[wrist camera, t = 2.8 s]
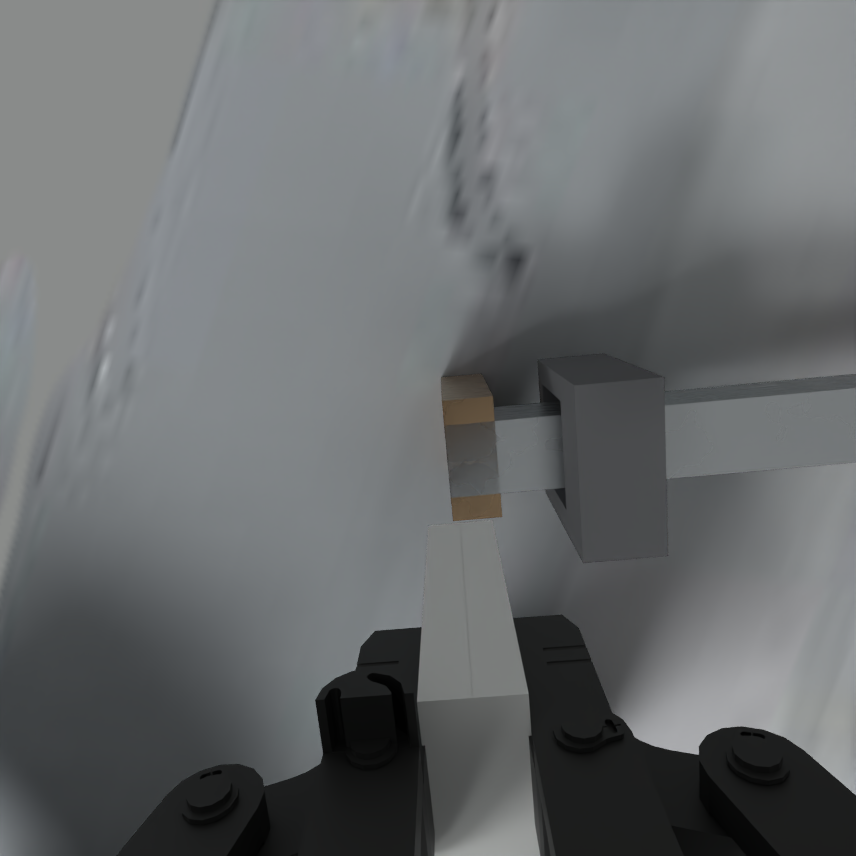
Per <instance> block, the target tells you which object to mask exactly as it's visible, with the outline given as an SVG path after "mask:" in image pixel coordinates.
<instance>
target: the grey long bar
mask: <svg viewBox="0 0 856 856" xmlns="http://www.w3.org/2000/svg"><path fill="white" fill-rule="evenodd" d="M441 388H442V406H443V417H444V428H445V438H446V449H447V460H448V471H449V481H450V492H451V503H452V514H453V521H460V520H471V519H483V518H495V517H502V509H501V496H500V493H512V492H523V491H534V490H546V489H557V488H565V474H564V456H563V438H562V420H561V401H555V402H544V403H534V404H523V405H512V406H501V407H494V405H493V396H492V394H491V392H490V390H489V388H488V386H487V384H486V382H485V380H484V378H483V376H482V374H471V375H461V376H450V377H441ZM665 436H666V479H672V478H683V477H694V476H706V475H717V474H729V473H740V472H752V471H763V470H774V469H786V468H797V467H809V466H820V465H832V464H843V463H854V462H856V374H849V375H838V376H827V377H816V378H805V379H794V380H784V381H773V382H762V383H751V384H740V385H729V386H718V387H707V388H697V389H686V390H675V391H665Z"/></svg>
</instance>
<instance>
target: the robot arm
mask: <svg viewBox="0 0 856 856" xmlns="http://www.w3.org/2000/svg"><path fill="white" fill-rule="evenodd" d="M315 701H316V708H317V715H318V721H319V728H320V735H321V741H322V748H323V757H322V761H321V763H320V764H319V765H318V766H316V767H314V768H313V769H311V770H309V771H308V772H306V773H303V774H301V775H298V776H296V777H293V778H291V779H288V780H284V781H281V782H278V783H275V784H272V785H269V786H265V787H264V785H263V779H262V777H261V776H260V775H259V774H258V773H257V772H256V771H255V770H254V769H253V768H249V767H246V766H243V765H240V764H229V765H218V766H215V767H212V768H208V769H205V770H202V771H199V772H198V773H196V774H194V775H192V776H191V777H189V778H187V779H185V780H183V781H182V782H181V783H180V784H179V785H177V786H176V787H175V788H174V789H173V790H172V791H171V792H170V793H169V794H168V795H167V796H166V797H165V798H164V799H163V800H162V802H161V803H160V804H159V805H158V806H157V808H156V809H155V810H154V811H153V812H152V814H151V815H150V816H149V817H148V818H147V820H146V821H145V822H144V823H143V824H142V826H141V827H140V828H139V829H138V830H137V832H136V833H135V834H134V835H133V836H132V838H131V839H130V840H129V841H128V842H127V844H126V845H125V846H124V847H123V848H122V850H121V851H120V852H119V853H118V854H117V856H856V795H855V794H854V793H852V792H851V791H850V790H849V789H848V788H847V787H845V786H844V785H843V784H842V783H841V782H840V781H839V780H837V779H836V778H835V777H834V776H833V775H832V774H830V773H829V772H828V771H827V770H826V769H825V768H824V767H822V766H821V765H820V764H819V763H818V762H817V761H815V760H814V759H813V758H812V757H811V756H810V755H809V754H807V753H806V752H805V751H804V750H803V749H801V748H799V747H798V746H796V745H795V744H793V743H792V742H790V741H789V740H787V739H786V738H784V737H781V736H779V735H776V734H773V733H771V732H768V731H765V730H762V729H755V728H748V727H731V728H722V729H719V730H717V731H715V732H713V733H711V734H708V735H707V736H706V737H705V739H704V740H703V741H702V743H701V744H700V746H699V755H696V754H690V753H684V752H678V751H671V750H667V749H663V748H659V747H654V746H652V745H649V744H647V743H645V742H642V741H640V740H638V739H636V738H635V737H634V736H633V733H632V731H631V730H630V728H629V727H628V726H627V724H626V723H625V722H624V720H623V719H621V718H620V717H618V716H617V715H615V714H613V713H612V711H611V709H610V706H609V704H608V701H607V699H606V696H605V694H604V691H603V689H602V686H601V684H600V681H599V678H598V676H597V673H596V671H595V668H594V666H593V663H592V662H591V658H590V656H589V653H588V651H587V648H586V647H585V643H584V640H583V638H582V635H581V633H580V630H579V628H578V627H577V626H575V625H574V624H573V623H572V622H570V621H569V620H568V619H567V618H565V617H564V616H563V615H551V616H538V617H525V618H513V616H512V612H511V607H510V602H509V597H508V592H507V588H506V583H505V578H504V573H503V568H502V564H501V559H500V554H499V549H498V544H497V540H496V535H495V530H494V525H493V520H487V521H475V522H463V523H451V524H439V525H428V535H427V551H426V567H425V582H424V598H423V614H422V627H420V628H407V629H394V630H381V631H375V632H374V633H373V634H372V635H371V636H370V637H369V638H368V639H367V641H366V642H365V643H364V644H363V645H362V646H361V649H360V653H359V658H358V662H357V667H356V671H351V672H349V673H347V674H344V675H342V676H340V677H337V678H335V679H334V680H333V681H331V682H330V683H329V684H327V685H326V686H325V687H324V688H322V690H321V692H320V693H319V695H318V697H317V698H316V700H315Z"/></svg>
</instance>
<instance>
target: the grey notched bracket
mask: <svg viewBox="0 0 856 856" xmlns="http://www.w3.org/2000/svg"><path fill="white" fill-rule="evenodd" d="M538 375H539V391H540V403H544V402H555V401H561V420H562V438H563V456H564V474H565V488H557V489H546V494H547V496H548V498H549V500H550V502H551V503H552V505H553V507H554V509H555V511H556V513H557V515H558V517H559V518H560V520H561V522H562V524H563V526H564V528H565V530H566V532H567V534H568V535H569V537H570V539H571V541H572V543H573V545H574V547H575V549H576V550H577V552H578V554H579V556H580V558H581V560H582V562H583V563H589V562H601V561H613V560H625V559H637V558H649V557H661V556H668V529H667V483H666V436H665V389H664V377H662V376H660V375H657V374H655V373H652V372H650V371H647V370H644V369H642V368H639V367H637V366H634V365H631V364H629V363H626V362H624V361H621V360H619V359H616V358H613V357H611V356H608V355H606V354H593V355H582V356H572V357H561V358H550V359H540V360H538Z"/></svg>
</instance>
